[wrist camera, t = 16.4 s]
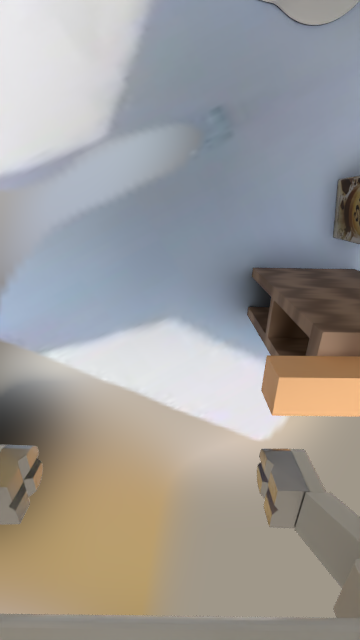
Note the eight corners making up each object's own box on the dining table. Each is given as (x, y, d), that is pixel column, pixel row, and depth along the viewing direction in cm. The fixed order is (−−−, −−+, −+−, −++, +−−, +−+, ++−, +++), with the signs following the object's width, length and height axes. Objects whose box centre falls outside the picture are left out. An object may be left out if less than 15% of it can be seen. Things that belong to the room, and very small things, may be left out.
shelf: (247, 314, 52) (303, 410, 28) (253, 267, 49) (322, 332, 25) (341, 316, 52) (476, 412, 28) (354, 269, 49) (521, 335, 25)
